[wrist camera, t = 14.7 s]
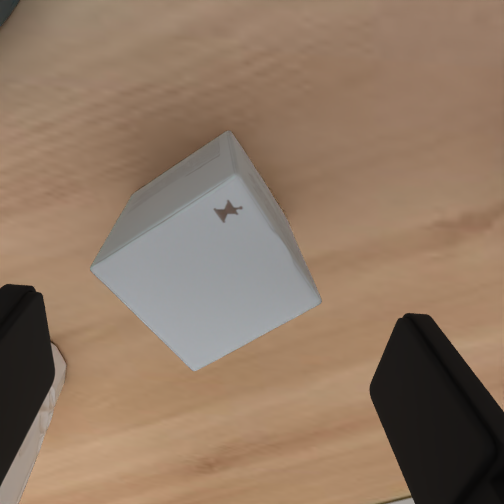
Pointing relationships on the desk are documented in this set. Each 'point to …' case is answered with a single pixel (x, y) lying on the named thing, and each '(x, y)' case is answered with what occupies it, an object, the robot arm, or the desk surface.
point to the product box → (207, 256)
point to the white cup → (33, 438)
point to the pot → (6, 9)
